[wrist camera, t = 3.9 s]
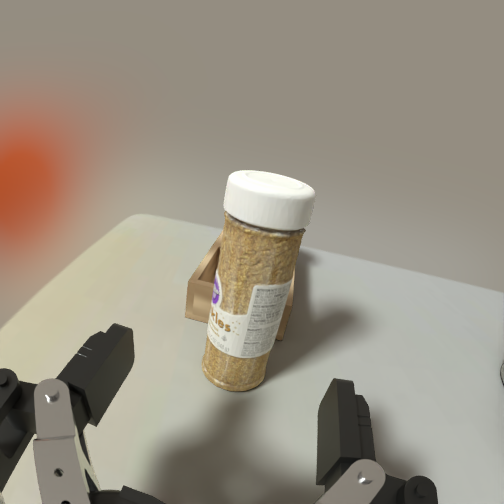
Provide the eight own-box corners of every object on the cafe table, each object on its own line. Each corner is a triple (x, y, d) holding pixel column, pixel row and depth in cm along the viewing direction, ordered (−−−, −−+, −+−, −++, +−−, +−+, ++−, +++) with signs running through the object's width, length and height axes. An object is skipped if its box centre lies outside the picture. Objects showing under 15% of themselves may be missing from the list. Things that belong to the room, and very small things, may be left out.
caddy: (226, 245, 40) (230, 219, 39) (290, 260, 40) (296, 234, 38) (185, 317, 26) (188, 281, 24) (281, 340, 25) (292, 306, 24)
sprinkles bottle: (191, 355, 22) (215, 165, 16) (246, 344, 24) (285, 171, 19) (217, 402, 19) (257, 190, 13) (277, 384, 21) (336, 194, 15)
